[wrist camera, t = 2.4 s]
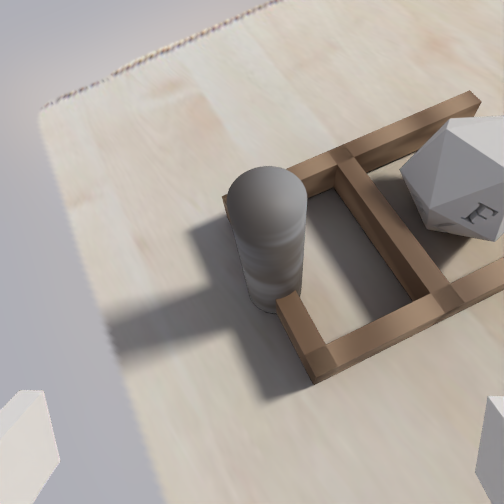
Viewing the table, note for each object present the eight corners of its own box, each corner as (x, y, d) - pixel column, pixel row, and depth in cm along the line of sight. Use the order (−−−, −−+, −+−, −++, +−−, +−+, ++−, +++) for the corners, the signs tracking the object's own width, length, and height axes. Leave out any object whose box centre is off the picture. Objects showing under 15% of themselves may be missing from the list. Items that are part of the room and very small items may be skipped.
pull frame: (456, 117, 37) (524, -23, 26) (585, 248, 30) (748, 134, 19) (213, 222, 34) (178, 115, 23) (297, 393, 27) (301, 353, 17)
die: (368, 203, 35) (420, 212, 25) (421, 104, 33) (497, 72, 23) (453, 246, 35) (536, 271, 26) (507, 151, 34) (616, 139, 24)
